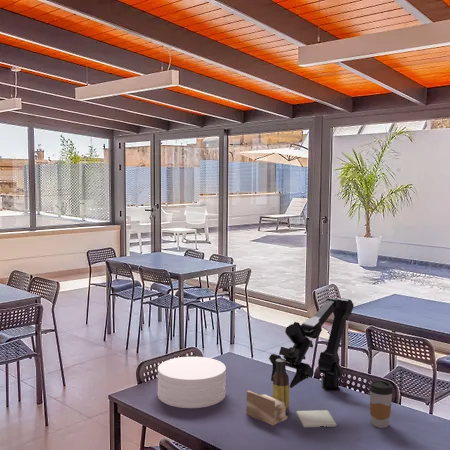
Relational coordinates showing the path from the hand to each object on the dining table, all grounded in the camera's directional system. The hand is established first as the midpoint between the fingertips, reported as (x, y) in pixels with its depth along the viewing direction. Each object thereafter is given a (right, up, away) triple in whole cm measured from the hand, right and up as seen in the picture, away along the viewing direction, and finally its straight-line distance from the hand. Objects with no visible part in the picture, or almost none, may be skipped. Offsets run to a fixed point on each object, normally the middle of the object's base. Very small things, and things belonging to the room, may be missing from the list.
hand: (280, 384), depth 203 cm
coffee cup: (+35, -12, -10) cm, 38 cm away
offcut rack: (-6, -11, -5) cm, 13 cm away
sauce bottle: (0, -11, +1) cm, 11 cm away
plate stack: (-35, -9, +16) cm, 40 cm away
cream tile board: (+12, -11, -7) cm, 18 cm away
